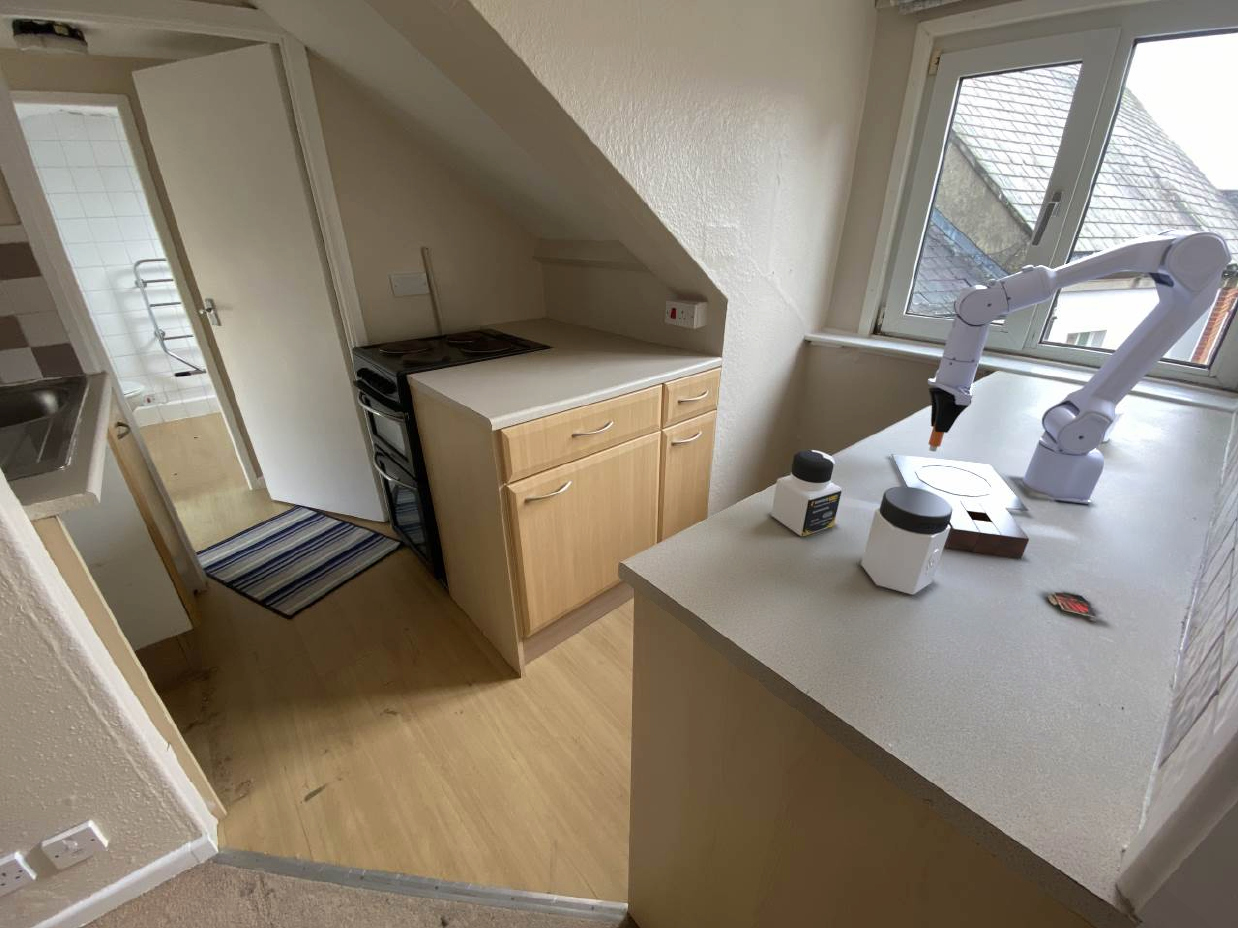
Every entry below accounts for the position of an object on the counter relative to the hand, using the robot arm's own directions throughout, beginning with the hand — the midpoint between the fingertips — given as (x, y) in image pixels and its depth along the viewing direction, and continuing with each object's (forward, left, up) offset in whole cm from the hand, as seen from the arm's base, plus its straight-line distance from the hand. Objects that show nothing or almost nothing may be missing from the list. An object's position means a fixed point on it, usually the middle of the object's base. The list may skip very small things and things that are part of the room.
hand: (939, 429), depth 99 cm
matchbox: (-8, +37, -9) cm, 39 cm away
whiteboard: (-3, +4, -9) cm, 11 cm away
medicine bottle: (+25, +25, -9) cm, 37 cm away
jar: (+13, +36, -9) cm, 40 cm away
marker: (0, 0, -4) cm, 4 cm away
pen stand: (-1, +22, -9) cm, 24 cm away
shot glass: (-41, -30, -9) cm, 52 cm away
